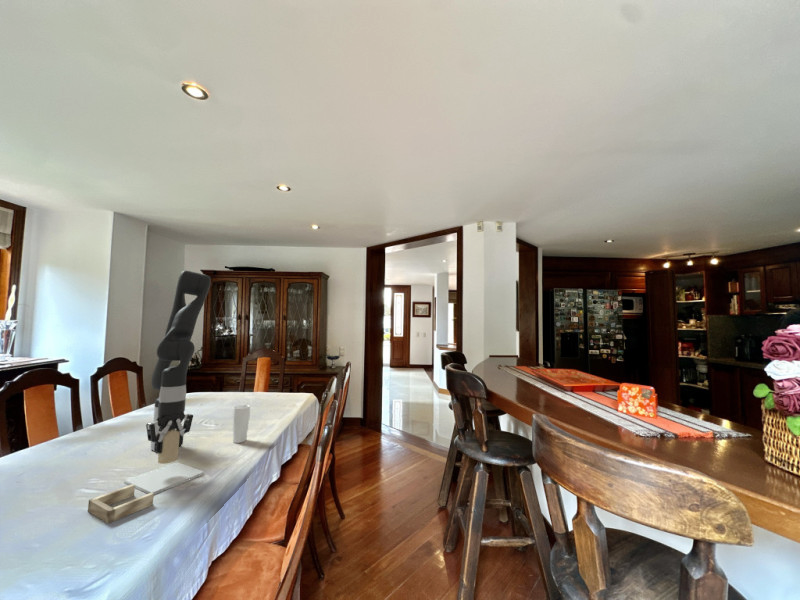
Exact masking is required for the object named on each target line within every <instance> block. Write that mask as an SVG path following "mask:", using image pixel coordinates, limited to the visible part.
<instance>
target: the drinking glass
mask: <svg viewBox="0 0 800 600" xmlns="http://www.w3.org/2000/svg"><path fill="white" fill-rule="evenodd" d="M232 411H233V412H232V428H233V429H232V431H233V434H232V435H233V436H232V437H233V439H232V441H233V443H235V444H241V443H244V442H246V441H247V437H248V430H249V421H250V416H251V415H250V414H251V405H247V404H239V405H236V406H233V410H232Z"/></svg>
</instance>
